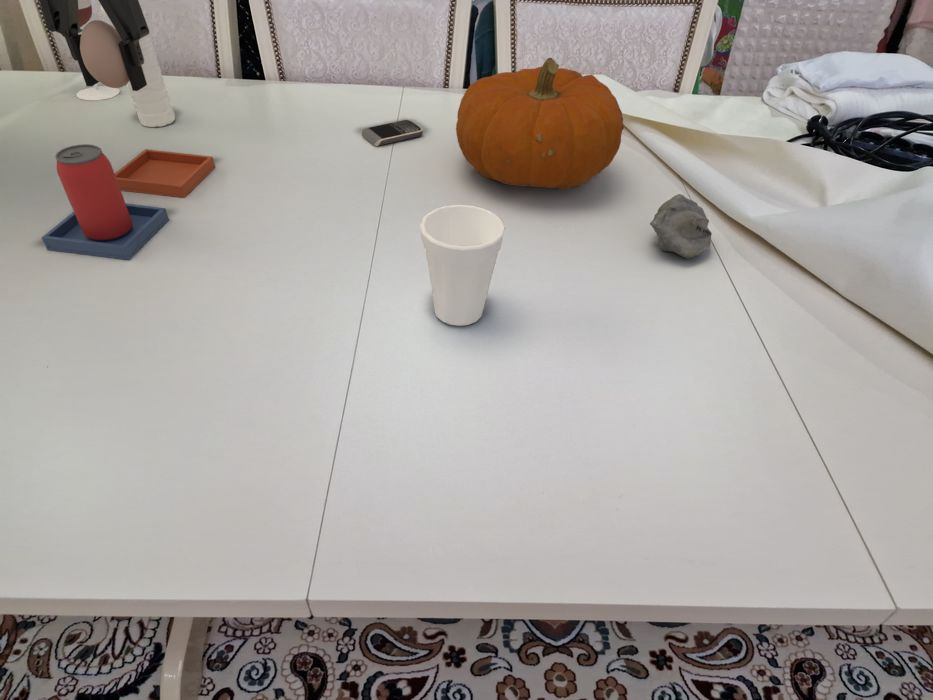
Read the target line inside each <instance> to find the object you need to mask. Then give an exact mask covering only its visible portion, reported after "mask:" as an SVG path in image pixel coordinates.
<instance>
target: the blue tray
mask: <svg viewBox="0 0 933 700" xmlns="http://www.w3.org/2000/svg"><path fill="white" fill-rule="evenodd" d="M125 204H126V207H127V209H128V212H129V215H130V218H131V220H132V223H133V224H132V228H131V230H130V231H129V232H128V233H127V234H125V235H124V236H122V237H120V238H117V239H114V240H110V241H95V240H92V239H89V238H88V237H86V236H85V235H84V234H83V232H82V229H81V227H80V225H79V222H78V220H77V218H76V215H75V213H74V211H73V212H72V213H70V214H69V215H67V216H66V217H65V218H64V219H62V221H60V222H59V223H57V224H56V225H55V226H54V227H53V228H52V229H50V230H49V231H48V232H46V233H45V234H44V235H43V236H42V237H41V240H42V243H44V246H45V248H46V250H48V251H55V252H63V253H70V254H79V255H85V256H86V255H87V256H96V257H103V258H111V259H118V260H119V259H120V260H127V261H130V260H131V259H132V257H134V256H135V255H136V254H137V252H139V250H141V248H143V247H144V245H145V244H147V243H148V242H149V241H150V240H151V239H152V238H153V236H155V235H156V234H157V233H158V231H159V230H160V229H161V228H163V227H164V226H165V225H166V224H167V222H168V221H169V220H170V218H169V215H168V212H167V208H166V207H158V206H151V205H142V204H133V203H126V202H125Z"/></svg>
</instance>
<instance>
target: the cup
mask: <svg viewBox="0 0 933 700" xmlns="http://www.w3.org/2000/svg"><path fill="white" fill-rule="evenodd" d="M419 231H420V238H421V243H422V245H423V248H424V250H425V255H426V262H427V269H428V274H429V275H428V276H429V280H430V281H429V282H430V287H431V295H432V301H433V306H434V313H435V316H436V317H437V318H438V320H440V321H441V322H442V323H445V324H447V325H450V326H457V327H461V326H469V325H471V324H475V323H476V322H477V321H478V320H480V319H481V318H482V315H483V312H484V308H485V303H486V300H487V296H488V293H489V289H490V285H491V282H492V278H493V273H494V270H495V267H496V262H497V258H498V255H499V252H500V251H501V248H502V244H503V239H504V235H505V231H506V226H505V225H504V223H503V221H502V219H501V218H500V217H499V216H498V215H496V214H495V213H494V212H492V211H491V210H488V209H485V208H482V207H480V206H475V205H469V204H468V205H467V204H452V205H445V206H441V207H438V208H434V209H433V210H431V211H430V212H429V213H427V214H425V215H424V216H423V217H422V219H421V221H420V223H419Z"/></svg>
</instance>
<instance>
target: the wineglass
mask: <svg viewBox="0 0 933 700" xmlns="http://www.w3.org/2000/svg"><path fill="white" fill-rule="evenodd" d="M78 11H79V28H82V27H84V25H87V24H88V23H89V22H90V20H91V18H92V15H93V5H92V0H78ZM80 34H81V32H80V33H78V35H80ZM83 89H84V90H83ZM83 89H81V90H79V91H78V92H76V94H77V96H76V98H78V99H80V100H84V101H101V100H102V101H103V100H107V99H112V98H113V97H115V96H118V95H119V94H120V91H121V90H120V89H119V88H111V87H107V86H105V85H99V84H98V83H97V84H95V85H93V86H89V87H86V88H83Z"/></svg>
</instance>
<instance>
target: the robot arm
mask: <svg viewBox="0 0 933 700" xmlns="http://www.w3.org/2000/svg"><path fill="white" fill-rule="evenodd" d="M38 1H39V5H40V7H41V11H42V16H43V18H44V20H45V25H46V27H47V29H48V31H50V32H52V33H55V32H56V33H59V34H60V35H61V36H62V37H63V38H64V39H65V41H66V44H67V47H68V50H69V52H70V55H71V57H72V59H73V60H74V61H76V62H77V64H78V66H79V69H80V72H81V75H82V78H83V80H84V83H85V85H86V87H94V86H93V85H95V84H97V85H98V84H99V83H100V82H99V81H97V80H96V79H95V78H94V77H93V76H92V75H91V74H90V73H89V72H88V70H87V69H86V67H85V65H84V62H83V59H82V56H81V52H80V38H81V34H82V31H83V29H84V28H82V27H80V28H79V11H78V0H38ZM98 2H99V4H101V5H102V7H103V9H104V10H105V12H106V14H107V15H108V17H109V19H110V20H111V22H112V24H113V25H114V27H115V29H116V30H117V32H118V34H119V35H120V37H121V39H122V41H120V43H118V45H119V49H120V52H121V55H122V58H123V61H124V64H125V67H126V71H127V74H128V77H129V80H130V83H131V86H132V90H133V91H138V90H140V89H142V88H143V87H145V86H146V85H147V83H146V79H145V76H144V73H143V69H142V66H141V65H142V64H144V57H143V54H142V51H141V47H140V44H139V39H141V38H143V37H145V36H147V35H148V34H149V35H150V29H149V26H148V23H147V20H146V18H145V15H144V12H142V11H143V8H142V6H141V3H140V1H139V0H98ZM141 8H142V9H141ZM78 33H80V35H78Z"/></svg>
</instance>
